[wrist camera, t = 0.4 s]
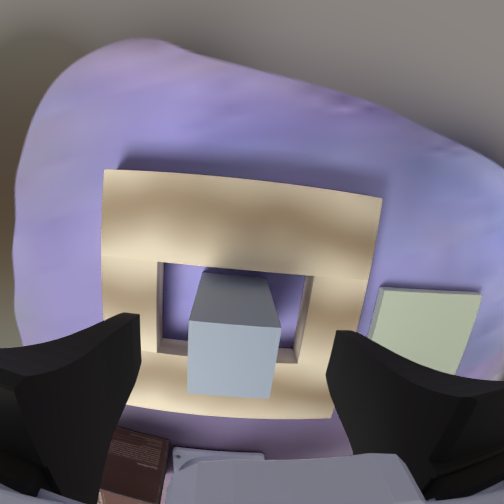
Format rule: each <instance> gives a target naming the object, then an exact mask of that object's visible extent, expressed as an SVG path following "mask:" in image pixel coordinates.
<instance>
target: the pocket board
mask: <svg viewBox="0 0 504 504" xmlns="http://www.w3.org/2000/svg"><path fill="white" fill-rule="evenodd" d="M382 199H383V198H378V197H373V196H368V195H362V194H356V193H350V192H343V191H337V190H330V189H323V188H316V187H309V186H302V185H294V184H286V183H278V182H270V181H261V180H252V179H243V178H233V177H223V176H212V175H200V174H187V173H174V172H158V171H140V170H117V169H104V181H103V198H102V224H101V273H102V299H103V315H104V320H106V319H108V318H110V317H113V316H115V315H117V314H120V313H123V312H127V313H134V314H140V336H141V358H142V363H141V366H140V370H139V374H138V377H137V380H136V383H135V386H134V388H133V390H132V392H131V394H130V397H129V399H128V401H127V403H126V405H132V406H137V407H143V408H150V409H156V410H163V411H170V412H178V413H187V414H196V415H207V416H219V417H233V418H254V419H320V418H331V416H332V413H333V410H334V407H335V406H334V404H333V401H332V399H331V396H330V393H329V389H328V385H327V381H326V376H325V374H326V370H327V367H328V363H329V359H330V355H331V351H332V346H333V342H334V338H335V334H336V330H352V331H354V332H356V331H357V327H358V323H359V319H360V315H361V311H362V307H363V302H364V298H365V293H366V289H367V284H368V279H369V275H370V270H371V265H372V259H373V254H374V249H375V243H376V238H377V232H378V226H379V219H380V213H381V206H382ZM164 262H166V263H176V264H186V265H196V266H207V267H217V268H228V269H239V270H250V271H261V272H273V273H284V274H296V275H305V281H304V287H303V293H302V299H301V305H300V311H299V316H298V322H297V327H296V333H295V338H294V343H293V349H291V348H278V353H277V359H276V364H275V370H274V376H273V381H272V387H271V392H270V398H269V399H266V398H244V397H228V396H215V395H204V394H194V393H187V365H188V341H184V340H176V339H167V338H163V273H164Z"/></svg>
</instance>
